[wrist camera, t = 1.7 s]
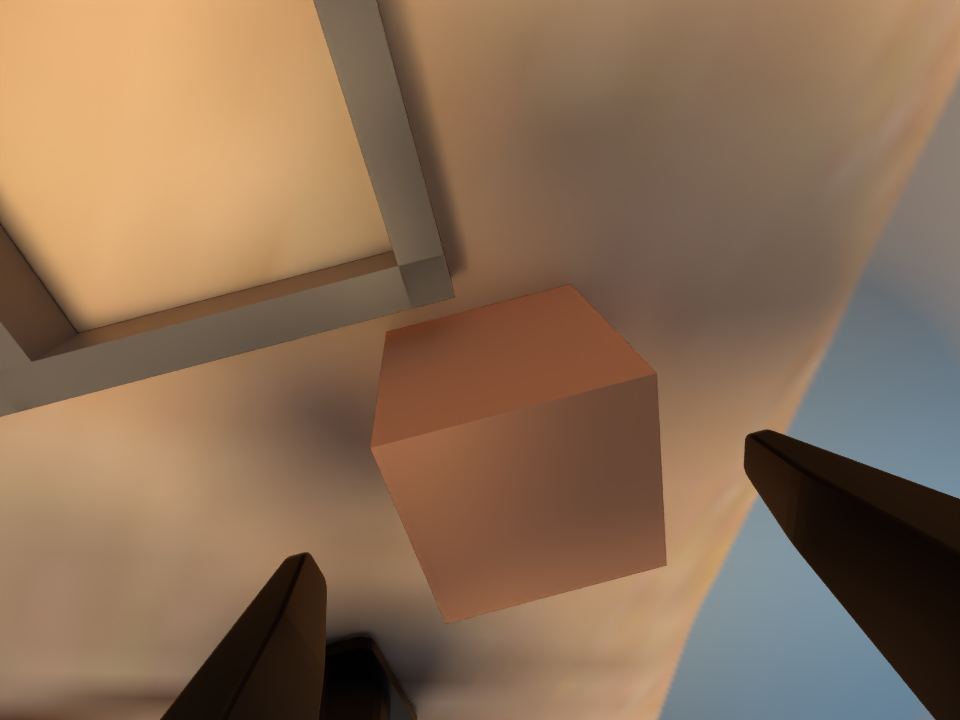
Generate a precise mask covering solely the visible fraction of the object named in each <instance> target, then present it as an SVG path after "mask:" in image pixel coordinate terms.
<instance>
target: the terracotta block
mask: <svg viewBox="0 0 960 720" xmlns="http://www.w3.org/2000/svg"><path fill="white" fill-rule="evenodd" d="M370 448H371V451H372V453H373V455H374V458H375V460H376V462H377V465H378V467H379V469H380V472H381V474H382V476H383V479H384V481H385V483H386V486H387V488H388V490H389V493H390V495H391V497H392V500H393V502H394V504H395V507H396V509H397V511H398V514H399V516H400V518H401V521H402V523H403V525H404V527H405V530H406V532H407V534H408V537H409V539H410V541H411V544H412V546H413V548H414V551H415V553H416V555H417V558H418V560H419V562H420V565H421V567H422V569H423V572H424V574H425V576H426V579H427V581H428V583H429V586H430V588H431V590H432V593H433V595H434V597H435V600H436V602H437V604H438V607H439V609H440V611H441V614H442V616H443V618H444V621H445V623H446V624H447V623H451V622H455V621H459V620H462V619H466V618H470V617H474V616H478V615H481V614H485V613H489V612H493V611H496V610H500V609H504V608H508V607H512V606H515V605H519V604H523V603H527V602H530V601H534V600H538V599H542V598H546V597H549V596H553V595H557V594H561V593H564V592H568V591H572V590H576V589H580V588H583V587H587V586H591V585H595V584H598V583H602V582H606V581H610V580H613V579H617V578H621V577H625V576H629V575H632V574H636V573H640V572H644V571H647V570H651V569H655V568H659V567H663V566H666V565H667V563H666V544H665V524H664V505H663V485H662V466H661V446H660V427H659V407H658V388H657V373H656V372H655V371H654V370H653V369H652V368H651V367H650V366H649V365H648V364H647V363H646V362H645V360H644V359H643V358H642V357H641V356H640V355H639V354H638V353H637V352H636V351H635V350H634V349H633V348H632V347H631V346H630V345H629V344H628V343H627V342H626V341H625V340H624V339H623V338H622V337H621V336H620V335H619V334H618V333H617V332H616V330H615V329H614V328H613V327H612V326H611V325H610V324H609V323H608V322H607V321H606V320H605V319H604V318H603V317H602V316H601V315H600V314H599V313H598V312H597V311H596V310H595V309H594V308H593V307H592V306H591V305H590V304H589V303H588V302H587V300H586V299H585V298H584V297H583V296H582V295H581V294H580V293H579V292H578V291H577V290H576V289H575V288H574V287H573V286H572V285H571V284H569V285H565V286H561V287H557V288H554V289H550V290H546V291H542V292H538V293H534V294H531V295H527V296H523V297H519V298H515V299H512V300H508V301H504V302H500V303H496V304H492V305H489V306H485V307H481V308H477V309H473V310H469V311H466V312H462V313H458V314H454V315H450V316H446V317H443V318H439V319H435V320H431V321H427V322H423V323H420V324H416V325H412V326H408V327H404V328H400V329H397V330H393V331H389V332H386V338H385V345H384V353H383V360H382V367H381V374H380V382H379V389H378V396H377V404H376V411H375V418H374V425H373V433H372V440H371V447H370Z"/></svg>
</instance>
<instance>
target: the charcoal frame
mask: <svg viewBox="0 0 960 720" xmlns="http://www.w3.org/2000/svg"><path fill="white" fill-rule="evenodd" d="M313 1H314V4H315V7H316V10H317V14H318V17H319V20H320V23H321V26H322V29H323V32H324V36H325V39H326V42H327V45H328V48H329V51H330V54H331V57H332V61H333V64H334V67H335V70H336V73H337V76H338V79H339V82H340V86H341V89H342V92H343V95H344V98H345V101H346V104H347V107H348V111H349V114H350V117H351V120H352V123H353V126H354V129H355V133H356V136H357V139H358V142H359V145H360V148H361V151H362V154H363V158H364V161H365V164H366V167H367V170H368V173H369V176H370V179H371V183H372V186H373V189H374V192H375V195H376V198H377V201H378V205H379V208H380V211H381V214H382V217H383V220H384V223H385V226H386V230H387V233H388V236H389V239H390V242H391V245H392V248H393V251H392V252H388V253H384V254H380V255H376V256H372V257H369V258H365V259H361V260H357V261H353V262H349V263H346V264H342V265H338V266H334V267H330V268H326V269H323V270H319V271H315V272H311V273H307V274H304V275H300V276H296V277H292V278H288V279H284V280H281V281H277V282H273V283H269V284H265V285H261V286H258V287H254V288H250V289H246V290H242V291H238V292H235V293H231V294H227V295H223V296H219V297H215V298H212V299H208V300H204V301H200V302H196V303H192V304H189V305H185V306H181V307H177V308H173V309H169V310H166V311H162V312H158V313H154V314H150V315H147V316H143V317H139V318H135V319H131V320H127V321H124V322H120V323H116V324H112V325H108V326H104V327H101V328H97V329H93V330H89V331H85V332H81V333H78V334H77V333H76V331H75V330H74V329H73V327H72V326H71V324H70V323H69V321H68V320H67V319H66V317H65V316H64V314H63V313H62V312H61V310H60V309H59V307H58V306H57V304H56V303H55V302H54V300H53V299H52V297H51V296H50V295H49V293H48V292H47V290H46V289H45V288H44V286H43V285H42V283H41V282H40V280H39V279H38V278H37V276H36V275H35V273H34V272H33V271H32V269H31V268H30V266H29V265H28V263H27V262H26V261H25V259H24V258H23V256H22V255H21V254H20V252H19V251H18V249H17V248H16V247H15V245H14V244H13V242H12V241H11V239H10V238H9V237H8V235H7V234H6V232H5V231H4V230H3V228H2V227H1V225H0V417H1V416H5V415H9V414H12V413H16V412H20V411H24V410H28V409H31V408H35V407H39V406H43V405H47V404H51V403H54V402H58V401H62V400H66V399H70V398H73V397H77V396H81V395H85V394H89V393H92V392H96V391H100V390H104V389H108V388H112V387H115V386H119V385H123V384H127V383H131V382H134V381H138V380H142V379H146V378H150V377H154V376H157V375H161V374H165V373H169V372H173V371H176V370H180V369H184V368H188V367H192V366H195V365H199V364H203V363H207V362H211V361H215V360H218V359H222V358H226V357H230V356H234V355H237V354H241V353H245V352H249V351H253V350H256V349H260V348H264V347H268V346H272V345H276V344H279V343H283V342H287V341H291V340H295V339H298V338H302V337H306V336H310V335H314V334H318V333H321V332H325V331H329V330H333V329H337V328H340V327H344V326H348V325H352V324H356V323H359V322H363V321H367V320H371V319H375V318H379V317H382V316H386V315H390V314H394V313H398V312H401V311H405V310H409V309H413V308H417V307H420V306H424V305H428V304H432V303H436V302H440V301H443V300H447V299H451V298H455V294H454V290H453V286H452V282H451V277H450V274H449V270H448V266H447V262H446V259H445V255H444V251H443V247H442V244H441V240H440V236H439V233H438V229H437V225H436V221H435V218H434V214H433V210H432V206H431V203H430V199H429V195H428V191H427V188H426V184H425V180H424V177H423V173H422V169H421V165H420V162H419V158H418V154H417V150H416V147H415V143H414V139H413V135H412V132H411V128H410V124H409V120H408V117H407V113H406V109H405V106H404V102H403V98H402V94H401V91H400V87H399V83H398V79H397V76H396V72H395V68H394V64H393V61H392V57H391V53H390V49H389V46H388V42H387V38H386V35H385V31H384V27H383V23H382V20H381V16H380V12H379V8H378V5H377V1H376V0H313Z"/></svg>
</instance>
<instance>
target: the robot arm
mask: <svg viewBox="0 0 960 720" xmlns="http://www.w3.org/2000/svg"><path fill="white" fill-rule="evenodd" d="M744 469H745V472H746V474H747V476H748V478H749V480H750V481H751V483H752V484H753V486H754V487H755V489H756V490H757V492H758V493H759V495H760V496H761V498H762V499H763V501H764V502H765V504H766V505H767V507H768V508H769V510H770V511H771V513H772V514H773V516H774V517H775V519H776V520H777V522H778V523H779V525H780V526H781V528H782V529H783V531H784V532H785V534H786V535H787V537H788V538H789V540H790V541H791V542H792V544H793V545H794V546H795V548H796V549H797V550H798V552H799V553H800V554H801V555H802V556H803V558H804V559H805V560H806V561H807V563H808V564H809V565H810V566H811V568H812V569H813V570H814V571H815V573H816V574H817V575H818V576H819V577H820V579H821V580H822V581H823V582H824V584H826V586H827V587H828V588H829V590H830V591H831V592H832V593H833V595H834V596H835V597H836V598H837V599H838V601H839V602H840V603H841V604H842V606H843V607H844V608H845V609H846V611H847V612H848V613H849V614H850V615H851V617H852V618H853V619H854V620H855V622H856V623H857V624H858V625H859V627H860V628H861V629H862V630H863V631H864V633H865V634H866V635H867V636H868V638H869V639H870V640H871V641H872V642H873V644H874V645H875V646H876V647H877V649H878V650H879V651H880V652H881V653H882V655H883V656H884V657H885V658H886V660H887V661H888V662H889V663H890V664H891V666H892V667H893V668H894V669H895V671H896V672H897V673H898V674H899V675H900V677H901V678H902V679H903V680H904V682H905V683H906V684H907V685H908V687H909V688H910V689H911V690H912V692H913V693H914V694H915V695H916V696H917V697H918V699H919V700H920V701H921V703H922V704H923V705H924V706H925V707H926V709H927V710H928V711H929V712H930V714H931V715H932V716H933V717H934V719H935V720H960V499H958V498H956V497H953V496H950V495H947V494H945V493H942V492H939V491H936V490H934V489H931V488H928V487H925V486H923V485H920V484H917V483H914V482H912V481H909V480H906V479H903V478H901V477H898V476H895V475H892V474H890V473H887V472H884V471H882V470H879V469H876V468H873V467H871V466H868V465H865V464H863V463H860V462H857V461H854V460H852V459H849V458H846V457H843V456H841V455H838V454H835V453H832V452H830V451H827V450H824V449H821V448H819V447H816V446H813V445H811V444H808V443H805V442H802V441H799V440H797V439H794V438H791V437H789V436H786V435H783V434H780V433H778V432H775V431H772V430H761V431H757V432H754V433H750V434H748V435H747V436H746V438H745V451H744ZM326 604H327V585H326V581H325V578H324V576H323V574H322V572H321V571H320V569H319V567H318V566H317V564H316V562H315V560H314V559H313V557H312V556H311V554H309V553H307V552H304V553H300V554H297V555H293V556H290V557H288V558H286V559H285V560H284V561H283V563H282V564H281V565H280V567H279V568H278V569H277V570H276V572H275V573H274V574H273V576H272V577H271V578H270V579H269V581H268V582H267V583H266V585H265V586H264V587H263V588H262V590H261V591H260V592H259V593H258V595H257V596H256V597H255V599H254V600H253V601H252V602H251V604H250V605H249V606H248V608H247V609H246V610H245V611H244V613H243V614H242V615H241V617H240V618H239V619H238V620H237V622H236V623H235V624H234V625H233V627H232V628H231V629H230V631H229V632H228V633H227V634H226V636H225V637H224V638H223V640H222V641H221V642H220V643H219V645H218V646H217V647H216V649H215V650H214V651H213V652H212V654H211V655H210V656H209V658H208V659H207V660H206V661H205V663H204V664H203V665H202V666H201V668H200V669H199V670H198V672H197V673H196V674H195V675H194V677H193V678H192V679H191V681H190V682H189V683H188V684H187V686H186V687H185V688H184V690H183V691H182V692H181V693H180V695H179V696H178V697H177V698H176V700H175V701H174V702H173V704H172V705H171V706H170V707H169V709H168V710H167V711H166V713H165V714H164V715H163V716H162V718H161V719H160V720H417V715H416V713H415V711H414V710H413V708H412V706H411V704H410V702H409V701H408V699H407V697H406V695H405V694H404V692H403V690H402V688H401V687H400V685H399V683H398V681H397V680H396V678H395V676H394V674H393V673H392V671H391V669H390V667H389V666H388V664H387V662H386V660H385V658H384V657H383V655H382V653H381V651H380V650H379V648H378V646H377V644H376V643H375V641H374V640H373V639H371V638H369V637H357V638H353V639H350V640H346V641H342V642H339V643H335V644H331V645H327V646H325V642H326Z"/></svg>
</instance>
